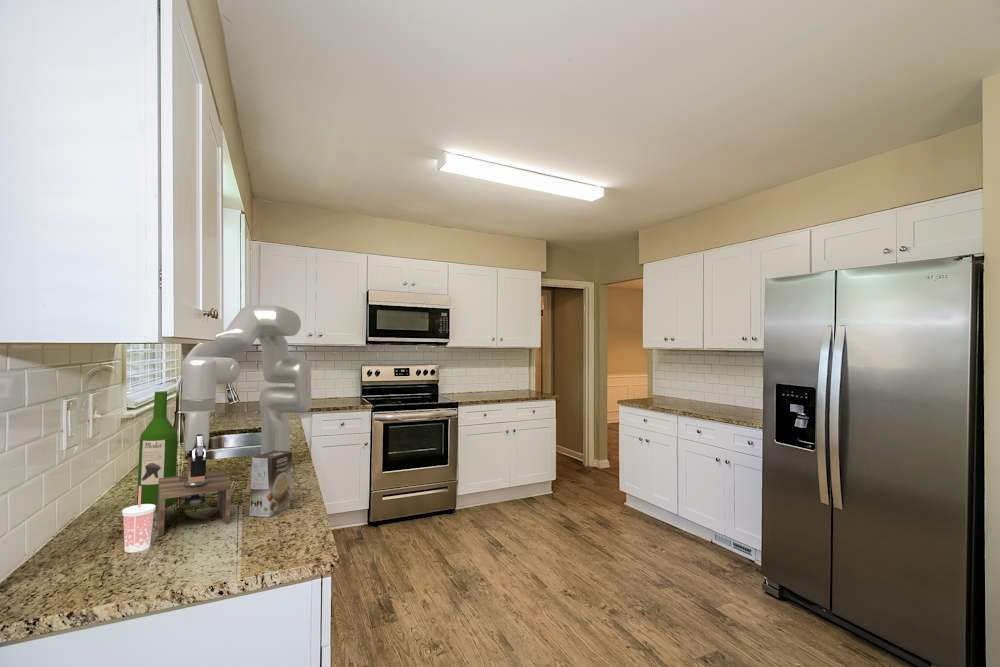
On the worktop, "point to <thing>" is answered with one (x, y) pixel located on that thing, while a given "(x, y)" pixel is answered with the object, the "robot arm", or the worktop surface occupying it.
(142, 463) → the wine bottle
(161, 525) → the keyhole plate
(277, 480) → the coffee box
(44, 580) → the worktop surface
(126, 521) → the beverage cup
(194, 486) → the keyhole pin
